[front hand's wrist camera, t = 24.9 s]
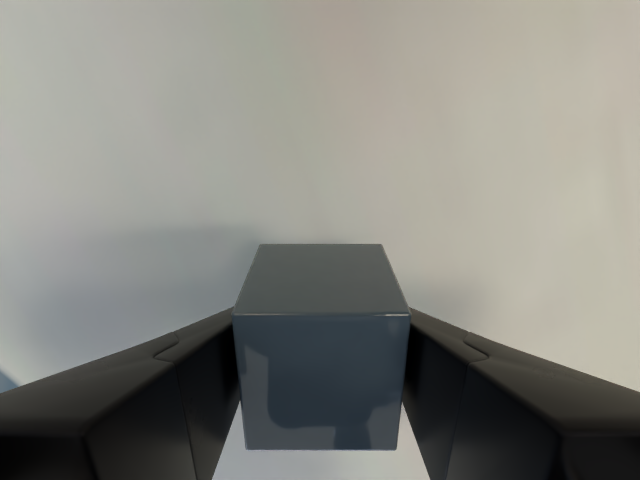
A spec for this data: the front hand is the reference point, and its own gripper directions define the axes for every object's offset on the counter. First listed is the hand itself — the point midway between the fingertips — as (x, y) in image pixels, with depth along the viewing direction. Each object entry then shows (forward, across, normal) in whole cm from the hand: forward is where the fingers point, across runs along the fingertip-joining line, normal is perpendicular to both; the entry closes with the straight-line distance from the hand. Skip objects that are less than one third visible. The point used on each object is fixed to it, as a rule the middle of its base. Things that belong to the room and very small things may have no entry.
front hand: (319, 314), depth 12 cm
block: (+1, 0, 0) cm, 1 cm away
